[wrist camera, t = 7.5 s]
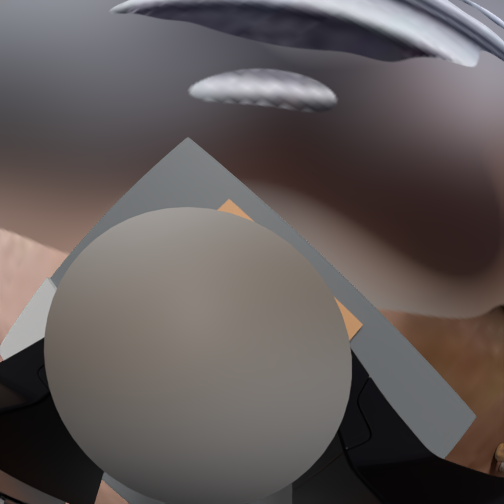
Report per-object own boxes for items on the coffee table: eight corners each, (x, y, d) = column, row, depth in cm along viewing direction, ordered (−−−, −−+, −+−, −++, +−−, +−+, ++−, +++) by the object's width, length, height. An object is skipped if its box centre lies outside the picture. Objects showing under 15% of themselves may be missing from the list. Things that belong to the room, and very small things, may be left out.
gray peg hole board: (449, 405, 14) (479, 417, 11) (274, 558, 12) (277, 587, 8) (197, 164, 17) (186, 133, 14) (30, 346, 14) (-3, 349, 11)
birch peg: (292, 347, 13) (398, 424, 3) (213, 387, 12) (140, 529, 3) (249, 269, 13) (250, 154, 4) (171, 309, 13) (13, 293, 3)
